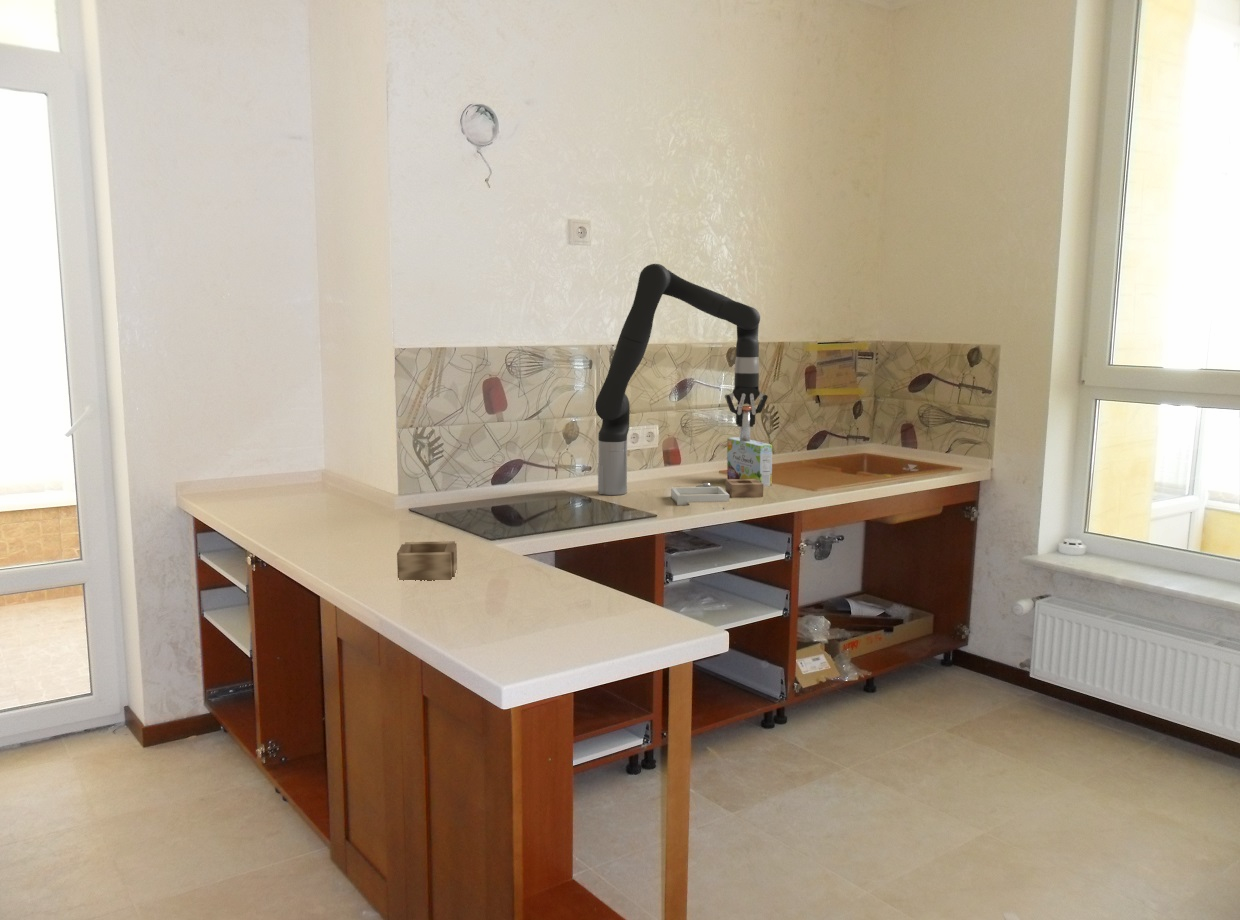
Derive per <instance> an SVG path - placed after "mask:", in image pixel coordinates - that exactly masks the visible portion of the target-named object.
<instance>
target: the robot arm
mask: <svg viewBox="0 0 1240 920" xmlns="http://www.w3.org/2000/svg"><path fill="white" fill-rule="evenodd" d="M663 295H665V296H668V297H672V298H675V299H678V300H680V301H682V302H684V303H686V304H688V305H690V306H692V307H694V308H695V309H697V310H699V311H701V312H703V313H705V314H708V315H710V316H712V317H715V318H717V319H720V320H724V321H726V322H728V323H731V324H733V325H735V326H736V338H737V339H736V347H735V363H734V369H733V371H734V382H733V384H734V385H733V387H734V388H733V390H732V392H731V393H729V394H727V393H726V394H725V395H724V398H725V401H726V404H727V406H728V408H729V411H730V412H731V414H735V425H737V427H738V428H740V427H741V418H742V415H741V411H742V408H743V406H744V405H748V406H751V408H752V410H751V425H750V428H751V427H754V425H755V424H756V415H757V414H760V413H762V411H763V409H764V407H765V404H766V402H767V400H768V398H769V397H768V395H767V394H764V393H762V392H761V391H760V389H759V388H760V387H759V385H760V361H759V360H760V359H759V355H760V354H759V353H760V350H759V349H760V342H759V340H758V339H759V327H760V321H761V315H760V312H759V311H758V310H757V308H754V307H753V306H750V305H746V304H744V303H742V302H739V301H736V300H733V299H732V298H730V297H728V296H725V295H724V294H721V293H719V292H716V291H713V290H711V289H709V288H706V287H703V286H700V285H698V284H695V283H693V282H691V281H688V280H686V279H684V278H682V277H680V276H678V275H676V274H675V273H674V272H672V271H671V270H669V269H667V268H666V267H665V266H664V265H662V264H660V263H650V264H648V265H646V266H645V267H644V268H642V270H641V271H640V273H639V277H638V282H637V287H636V290H635V295H634V300H633V303H632V306H631V308H630V310H629V313H628V315H627V316H626V319H625V321H624V323H623V326H622V328H621V330H620V331H621V332H620V334H619V337H618V339H617V341H616V346H615V350H614V352H613V355H612V359H611V362H610V366H609V369H608V372H607V375H606V378H605V379H604V380H605V381H604V383H603V385H602V387H601V389H600V391H599V393H598V396H597V398H596V401H595V405H594V406H595V407H594V408H595V412H596V414H597V416H598V417H599V418H600V419H601V420H602V423H601V427H600V430H599V432H598V462H597V492H598V495H605V496H606V495H607V496H617V495H619V496H620V495H625V494H627V493H628V485H627V484H628V433H629V429H630V415H631V414H630V408H631V406H630V400H629V398H628V396H627V394H626V390H627V387H628V384H629V383H630V380H631V379H632V376H633V375H634V374H635V372H636V370H637V369H638V367H639V365H640V364H641V362H642V361H643V359H644V356H645V353H646V351H647V347H648V344H649V341H650V338H651V334H652V330H653V325H654V318H655V313H656V310H657V308H658V306H659V303H660V301H661V298H662V296H663ZM734 398H735V400H736V401H737V403H736V408H735V406H734V403H733V400H734ZM757 398H759V402H758V405H757V407H756V403H755V402H756V400H757Z"/></svg>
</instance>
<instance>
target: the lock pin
mask: <svg viewBox="0 0 1240 920" xmlns="http://www.w3.org/2000/svg"><path fill="white" fill-rule="evenodd" d="M751 410H752V408H751V406H749V405H743V408H742V411H741V415H742V418H741V427H739V428H740V429H739V437H740V441H742V442H749V441H750V440H751V427H750V425H751Z"/></svg>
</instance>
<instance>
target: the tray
mask: <svg viewBox="0 0 1240 920" xmlns="http://www.w3.org/2000/svg"><path fill="white" fill-rule="evenodd" d="M670 497H671V498H672V500H673V501H674V503H675V504H676V505H677V506H690V503H706V502H707V503H708V502H709V503H711V502H713V503H714V502H715V503H716V502H717V503H718V502H721V503H722V502H730V496H729V494H728V493H727V492H726V491H725V489H724V488H723V487H722V486H717V487H696V486H681V487H680V486H679V487H678V486H677V487H676V486H674V487H670Z"/></svg>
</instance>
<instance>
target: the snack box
mask: <svg viewBox="0 0 1240 920" xmlns="http://www.w3.org/2000/svg"><path fill="white" fill-rule="evenodd" d="M726 442H727V445H726V446H727V447H726V450H727V451H726V453H727V455H726V456H727V458H726V459H727V462H726V463H727V466H726V467H727V470H726V473H727V474H726V475H727V476H726V479H757V480H758V481H760V482H761V483H762V484H763V487H769V486H770V487H771V486H772V483H773V482H772V481H773V480H772V478H773V444H770V443H766V442H762V441H758V440H754V439H750V441H749V442H742V441H740V436H732V437H727V441H726Z"/></svg>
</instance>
